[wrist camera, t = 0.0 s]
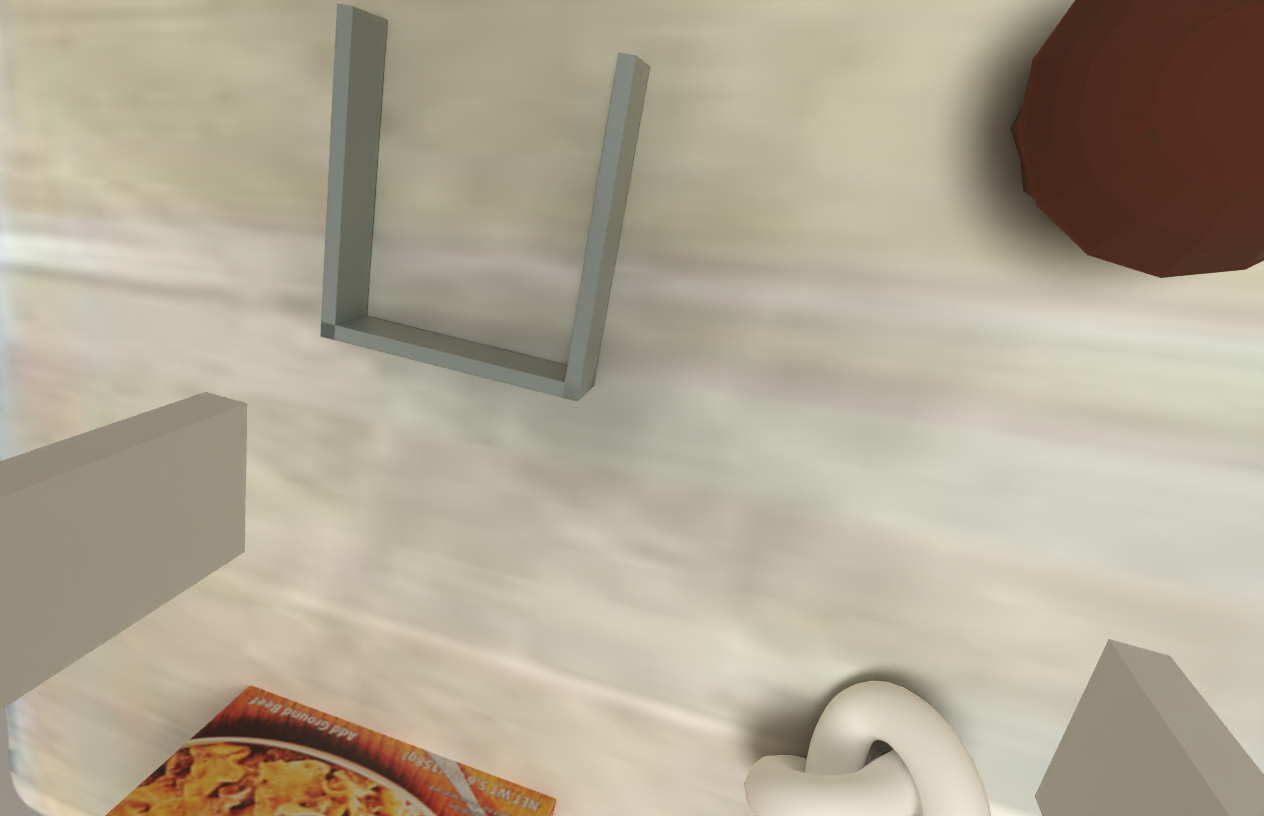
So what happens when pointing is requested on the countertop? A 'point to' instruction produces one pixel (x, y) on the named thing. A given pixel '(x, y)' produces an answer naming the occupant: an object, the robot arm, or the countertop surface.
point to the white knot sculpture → (872, 763)
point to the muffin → (1151, 133)
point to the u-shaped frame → (355, 212)
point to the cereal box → (316, 771)
